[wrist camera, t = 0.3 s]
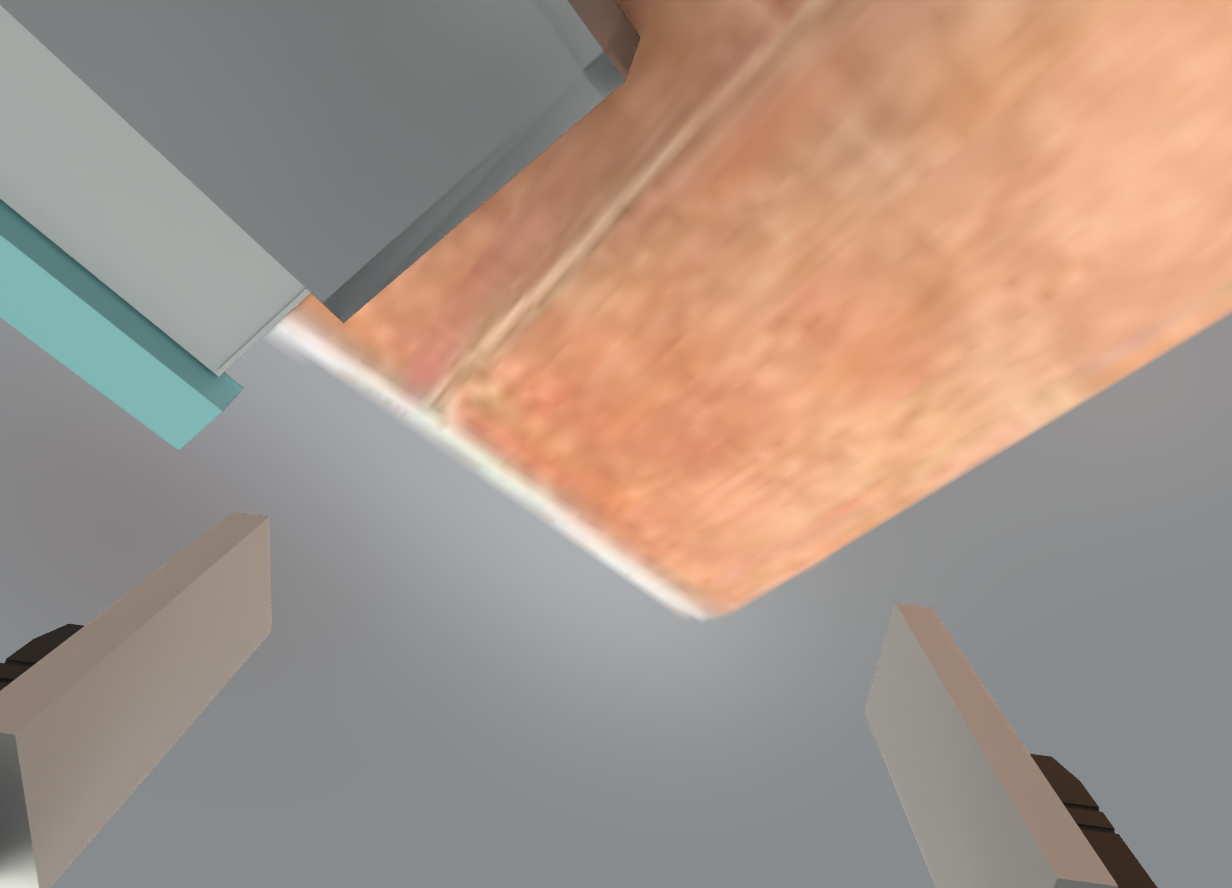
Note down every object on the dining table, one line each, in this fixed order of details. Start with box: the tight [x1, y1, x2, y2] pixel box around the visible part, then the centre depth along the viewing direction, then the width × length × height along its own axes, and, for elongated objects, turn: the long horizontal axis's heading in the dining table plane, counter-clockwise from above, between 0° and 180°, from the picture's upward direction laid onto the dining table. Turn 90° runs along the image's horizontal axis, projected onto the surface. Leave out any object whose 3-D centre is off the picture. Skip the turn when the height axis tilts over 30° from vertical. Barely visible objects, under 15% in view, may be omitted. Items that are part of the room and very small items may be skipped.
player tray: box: [0, 5, 311, 450], centre depth 39 cm, size 17×24×3 cm
